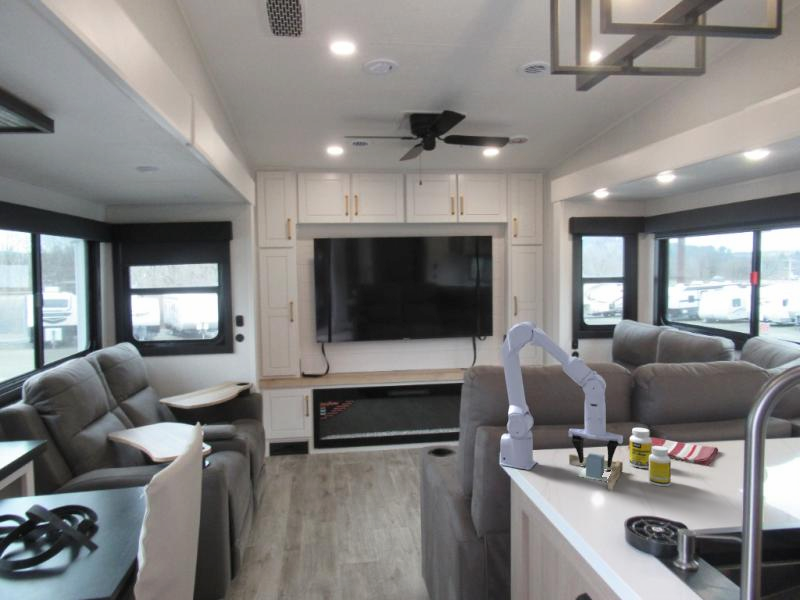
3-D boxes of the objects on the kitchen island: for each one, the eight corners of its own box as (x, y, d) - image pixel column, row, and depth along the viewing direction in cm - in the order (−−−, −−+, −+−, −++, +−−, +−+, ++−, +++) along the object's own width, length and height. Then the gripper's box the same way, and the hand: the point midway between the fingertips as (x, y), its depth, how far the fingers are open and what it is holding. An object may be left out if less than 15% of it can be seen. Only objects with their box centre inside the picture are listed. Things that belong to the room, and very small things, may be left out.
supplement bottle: (673, 487, 138) (673, 451, 137) (651, 486, 139) (651, 450, 138) (667, 479, 143) (667, 445, 143) (646, 478, 144) (646, 444, 144)
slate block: (590, 469, 151) (589, 452, 151) (604, 471, 149) (604, 454, 149) (586, 476, 146) (585, 458, 146) (600, 478, 144) (600, 461, 144)
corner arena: (556, 480, 143) (556, 470, 143) (570, 463, 157) (570, 453, 157) (613, 491, 136) (613, 480, 136) (622, 471, 149) (622, 461, 149)
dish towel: (708, 468, 152) (708, 459, 152) (626, 452, 168) (626, 444, 167) (718, 453, 165) (718, 445, 165) (641, 440, 180) (641, 432, 180)
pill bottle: (629, 468, 152) (629, 431, 152) (629, 461, 158) (628, 425, 158) (653, 470, 150) (652, 433, 150) (651, 463, 156) (651, 427, 155)
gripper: (566, 417, 147) (566, 464, 148) (619, 424, 140) (620, 472, 140) (571, 412, 153) (572, 456, 154) (623, 418, 146) (623, 464, 146)
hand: (595, 464), depth 147 cm, fingers open, 7 cm apart
